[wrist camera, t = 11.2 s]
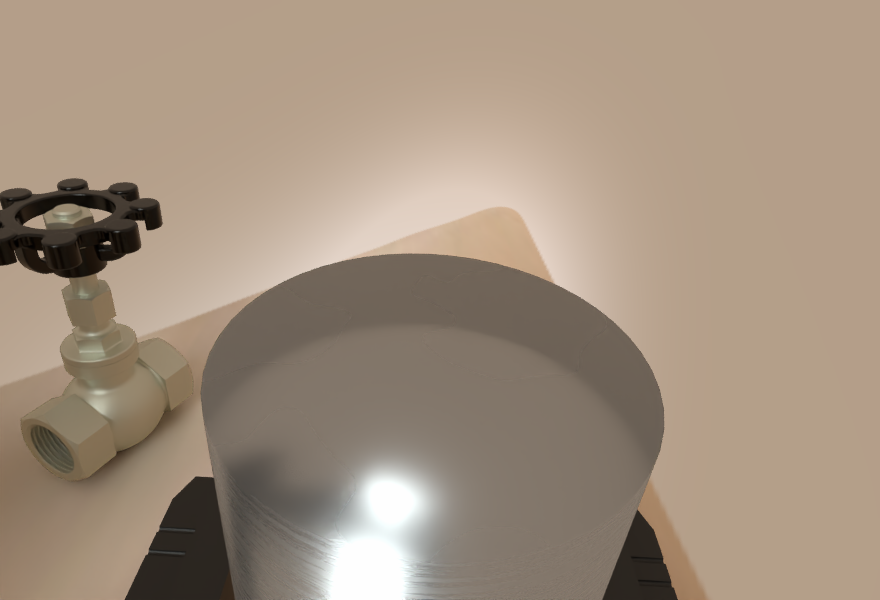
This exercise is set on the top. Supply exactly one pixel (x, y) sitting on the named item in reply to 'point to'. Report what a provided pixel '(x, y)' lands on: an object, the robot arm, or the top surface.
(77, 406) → the valve
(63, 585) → the top surface
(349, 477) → the axle
